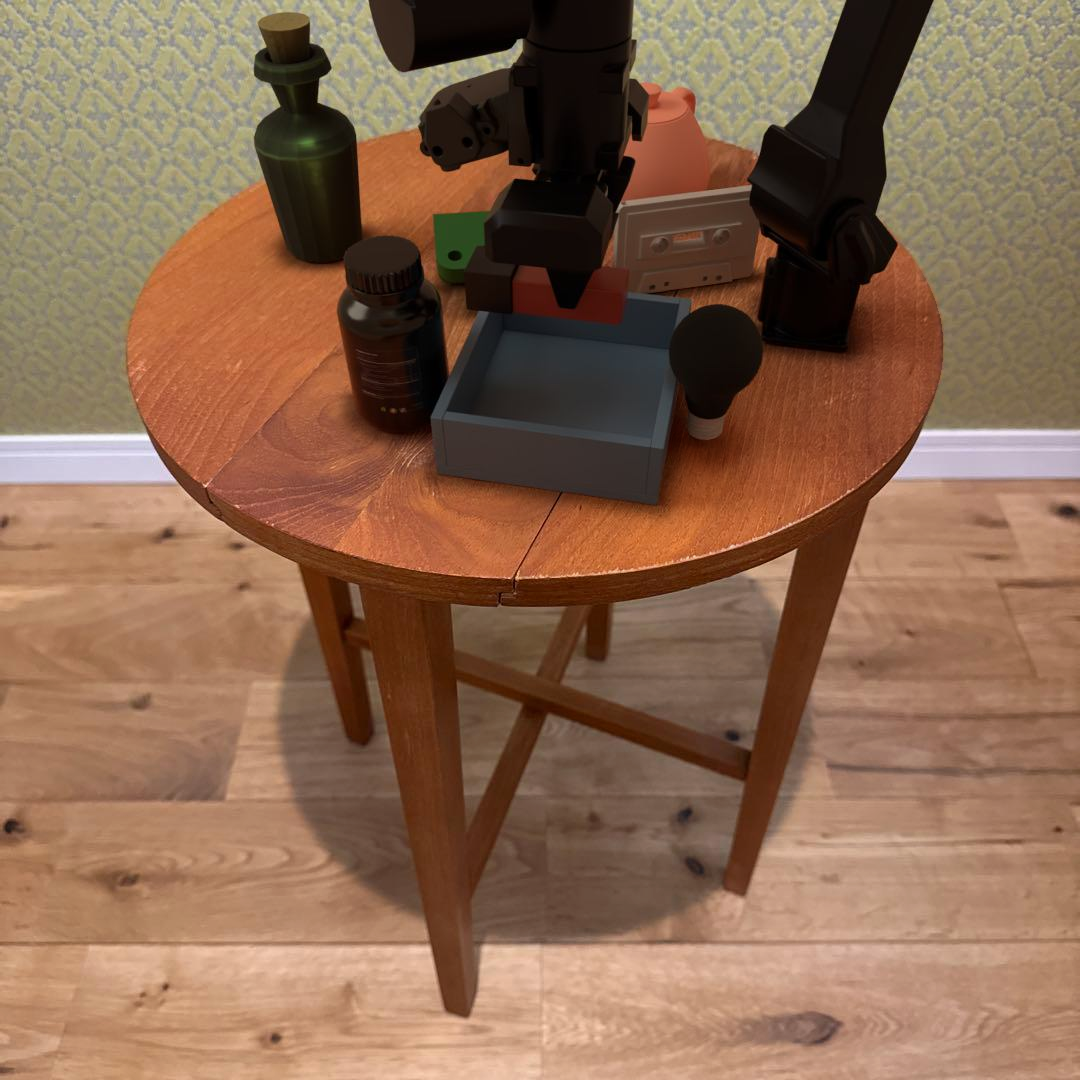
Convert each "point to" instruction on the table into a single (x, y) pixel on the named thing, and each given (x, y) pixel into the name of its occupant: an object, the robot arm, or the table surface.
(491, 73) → the robot arm
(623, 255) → the cassette
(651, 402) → the bin
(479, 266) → the red bar
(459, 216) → the clamp
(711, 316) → the light bulb
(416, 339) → the supplement bottle
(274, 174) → the potion bottle
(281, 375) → the table surface
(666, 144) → the sugar bowl
